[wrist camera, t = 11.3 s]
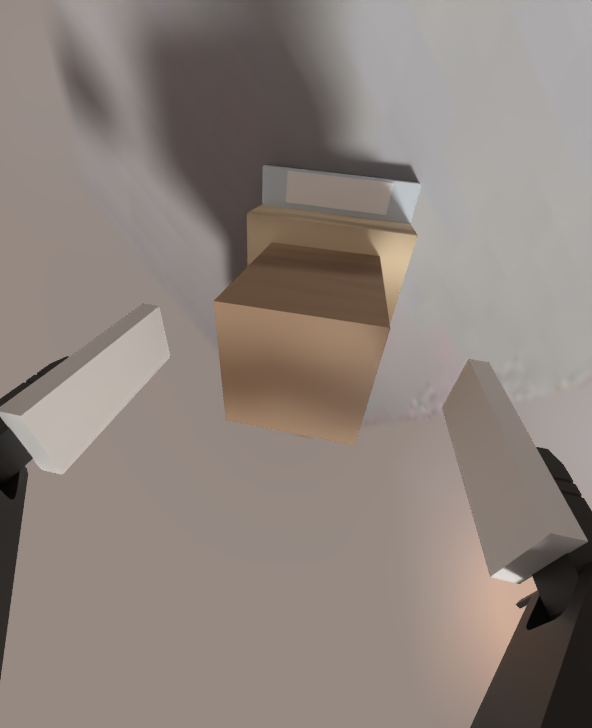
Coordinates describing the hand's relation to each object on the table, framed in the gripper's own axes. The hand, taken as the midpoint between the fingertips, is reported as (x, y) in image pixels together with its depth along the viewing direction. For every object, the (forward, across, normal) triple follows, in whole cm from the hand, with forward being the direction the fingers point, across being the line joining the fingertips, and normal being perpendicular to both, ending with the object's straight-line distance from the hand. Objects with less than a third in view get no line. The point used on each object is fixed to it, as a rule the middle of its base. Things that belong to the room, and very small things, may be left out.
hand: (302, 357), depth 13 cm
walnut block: (+6, 0, 0) cm, 6 cm away
